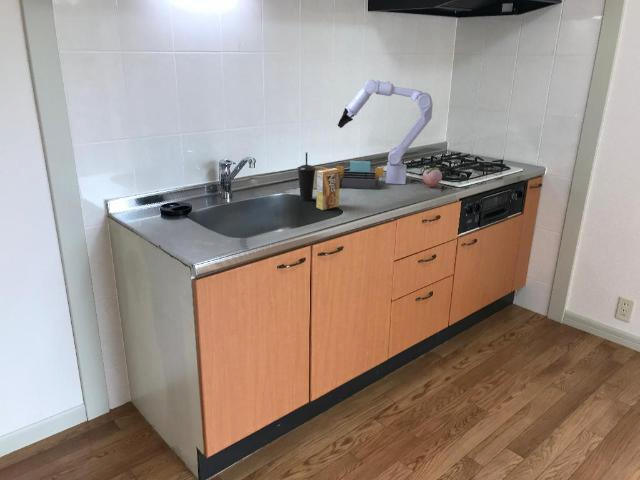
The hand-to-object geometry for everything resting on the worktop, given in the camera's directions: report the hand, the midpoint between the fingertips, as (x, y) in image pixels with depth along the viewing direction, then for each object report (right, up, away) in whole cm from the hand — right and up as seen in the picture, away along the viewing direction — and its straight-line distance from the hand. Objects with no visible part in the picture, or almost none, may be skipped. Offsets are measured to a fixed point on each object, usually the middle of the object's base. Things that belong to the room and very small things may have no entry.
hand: (339, 125), depth 246 cm
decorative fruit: (+42, -30, -3) cm, 52 cm away
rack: (+9, -28, -1) cm, 30 cm away
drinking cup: (-15, -37, -26) cm, 48 cm away
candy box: (-6, -41, -36) cm, 55 cm away
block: (+10, -23, +12) cm, 28 cm away
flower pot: (-10, -31, -7) cm, 33 cm away
